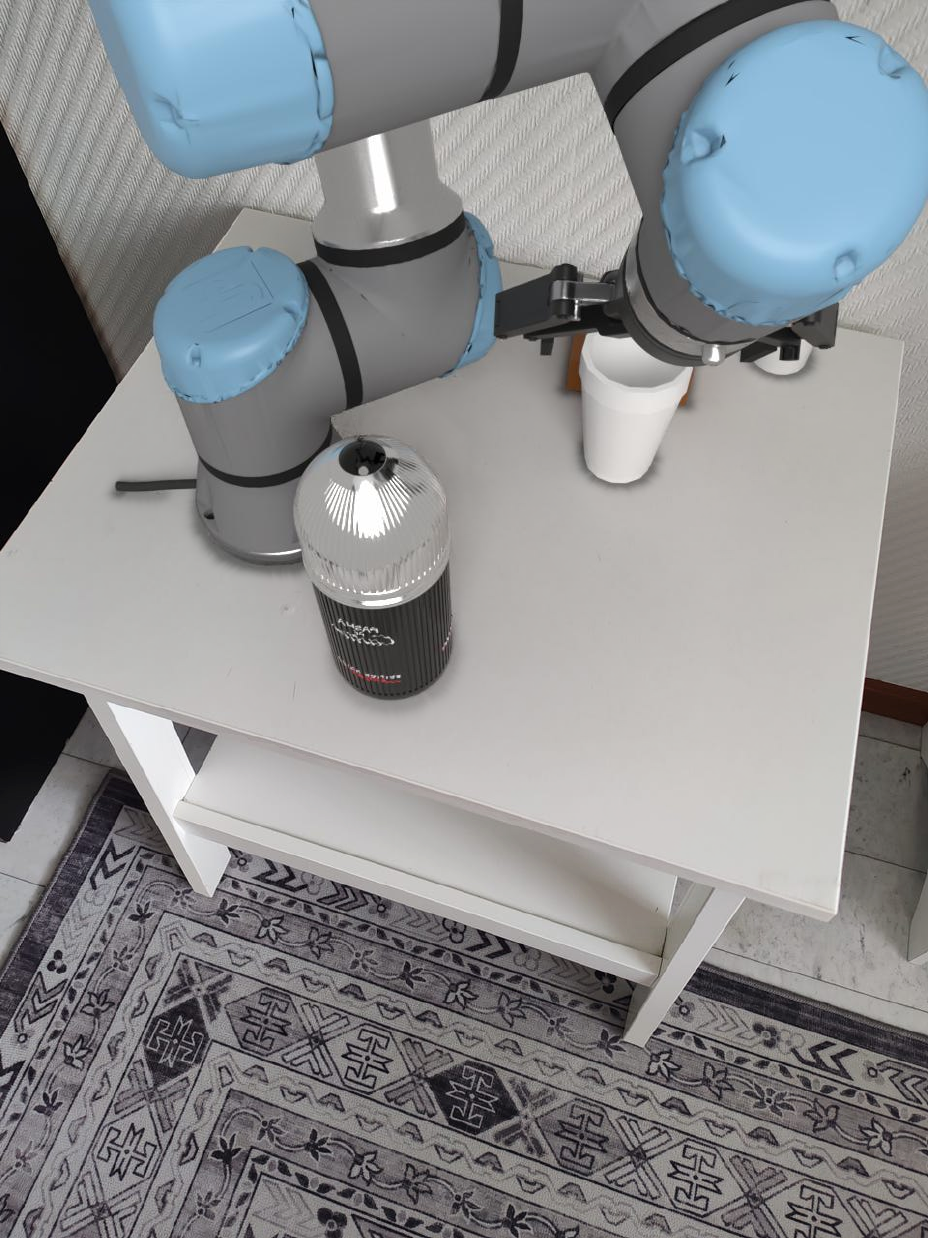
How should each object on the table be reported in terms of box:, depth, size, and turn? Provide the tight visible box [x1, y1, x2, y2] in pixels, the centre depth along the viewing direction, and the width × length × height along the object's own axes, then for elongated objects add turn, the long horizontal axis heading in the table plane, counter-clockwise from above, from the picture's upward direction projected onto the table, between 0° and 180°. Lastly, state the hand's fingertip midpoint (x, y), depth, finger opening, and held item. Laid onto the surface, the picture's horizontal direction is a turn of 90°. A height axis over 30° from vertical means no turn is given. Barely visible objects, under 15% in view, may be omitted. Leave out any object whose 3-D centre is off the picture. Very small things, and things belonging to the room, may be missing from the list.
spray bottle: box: [293, 434, 454, 702], centre depth 63 cm, size 10×10×25 cm
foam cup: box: [579, 332, 693, 484], centre depth 79 cm, size 10×9×13 cm
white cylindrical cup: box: [753, 339, 814, 376], centre depth 88 cm, size 7×7×10 cm
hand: (646, 338), depth 61 cm, fingers open, 13 cm apart
